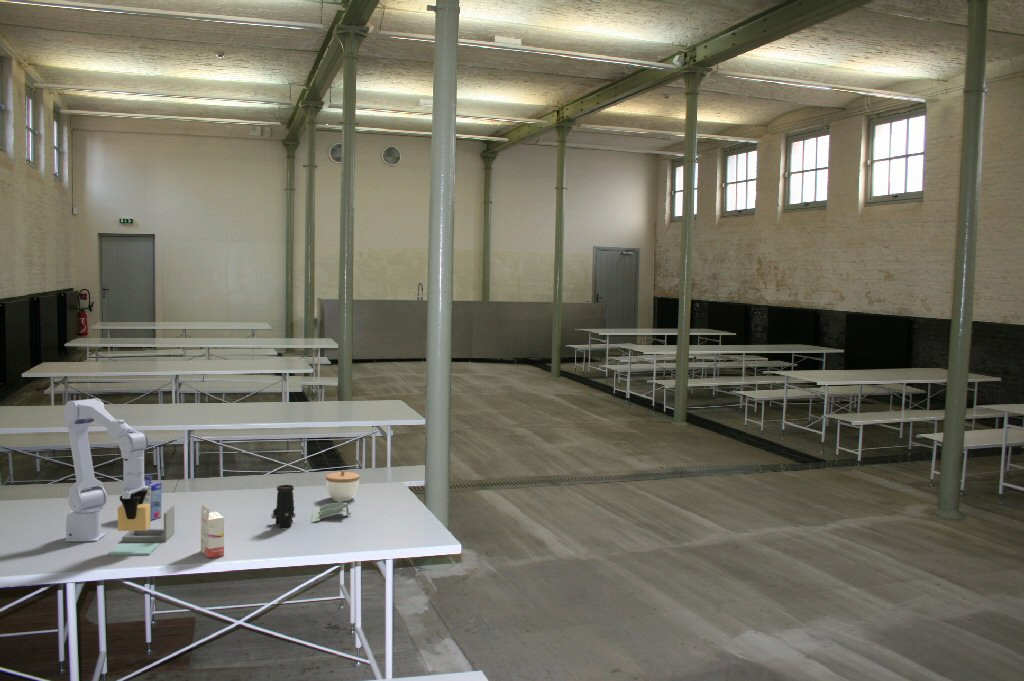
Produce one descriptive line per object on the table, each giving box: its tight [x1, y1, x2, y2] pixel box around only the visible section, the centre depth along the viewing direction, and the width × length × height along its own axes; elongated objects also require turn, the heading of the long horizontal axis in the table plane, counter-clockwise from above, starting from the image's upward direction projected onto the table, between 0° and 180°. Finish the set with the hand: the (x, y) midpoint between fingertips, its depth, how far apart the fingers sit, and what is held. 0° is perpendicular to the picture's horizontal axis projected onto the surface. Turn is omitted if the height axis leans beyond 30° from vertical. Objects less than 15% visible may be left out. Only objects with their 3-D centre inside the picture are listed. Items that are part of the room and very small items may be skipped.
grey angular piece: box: [121, 505, 175, 543], centre depth 270 cm, size 13×9×9 cm
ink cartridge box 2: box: [200, 503, 225, 559], centre depth 256 cm, size 9×5×15 cm, turn 35°
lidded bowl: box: [325, 469, 360, 502], centre depth 325 cm, size 13×13×11 cm
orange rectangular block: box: [117, 503, 151, 532], centre depth 257 cm, size 8×4×7 cm, turn 96°
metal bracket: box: [310, 500, 352, 524], centre depth 300 cm, size 14×6×15 cm
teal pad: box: [107, 542, 161, 557], centre depth 258 cm, size 12×10×1 cm
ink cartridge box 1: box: [143, 474, 162, 521], centre depth 293 cm, size 10×6×14 cm, turn 71°
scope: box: [270, 484, 296, 529], centre depth 287 cm, size 8×14×10 cm
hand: (133, 516), depth 257 cm, fingers closed on orange rectangular block, 4 cm apart
